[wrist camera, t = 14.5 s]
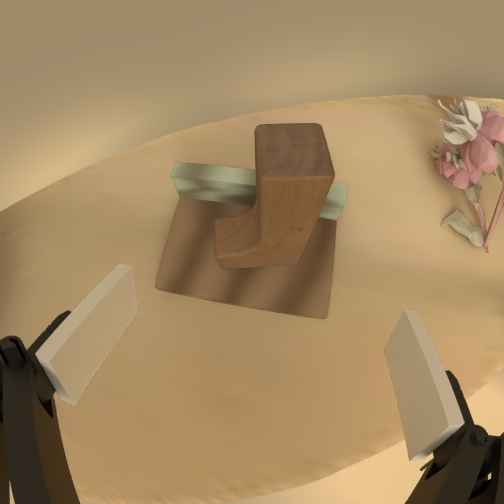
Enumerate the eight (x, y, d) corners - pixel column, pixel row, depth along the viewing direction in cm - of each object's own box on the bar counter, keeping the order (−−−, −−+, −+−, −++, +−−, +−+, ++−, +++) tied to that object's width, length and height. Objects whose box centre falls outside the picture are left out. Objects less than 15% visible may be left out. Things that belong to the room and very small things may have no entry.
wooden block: (220, 270, 33) (179, 186, 16) (219, 234, 34) (184, 129, 17) (299, 264, 33) (338, 176, 16) (294, 228, 34) (322, 121, 17)
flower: (515, 194, 36) (539, 79, 17) (520, 297, 27) (593, 173, 9) (428, 172, 47) (425, 52, 28) (410, 267, 38) (421, 120, 20)
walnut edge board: (158, 289, 34) (138, 276, 27) (186, 189, 38) (175, 162, 32) (324, 319, 32) (338, 312, 26) (334, 211, 36) (347, 185, 30)
